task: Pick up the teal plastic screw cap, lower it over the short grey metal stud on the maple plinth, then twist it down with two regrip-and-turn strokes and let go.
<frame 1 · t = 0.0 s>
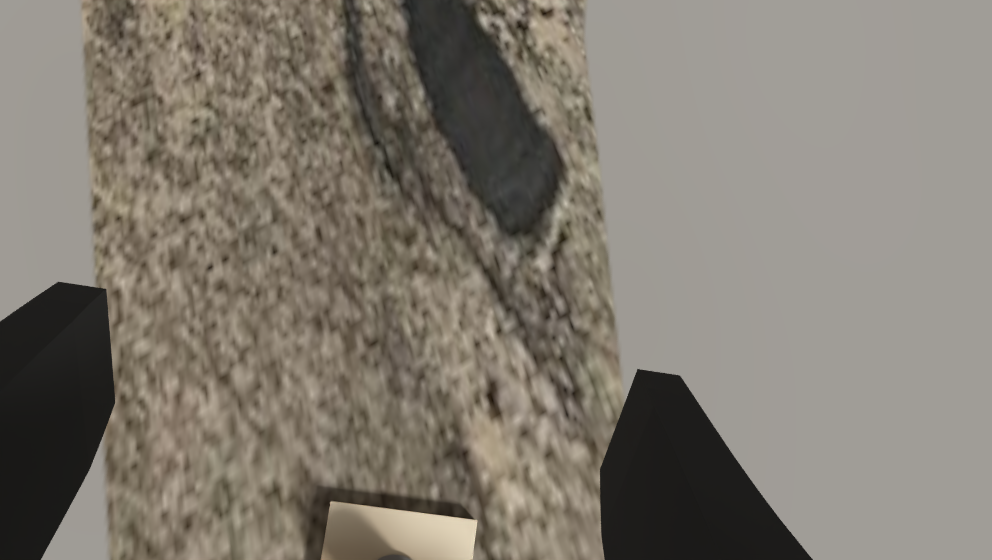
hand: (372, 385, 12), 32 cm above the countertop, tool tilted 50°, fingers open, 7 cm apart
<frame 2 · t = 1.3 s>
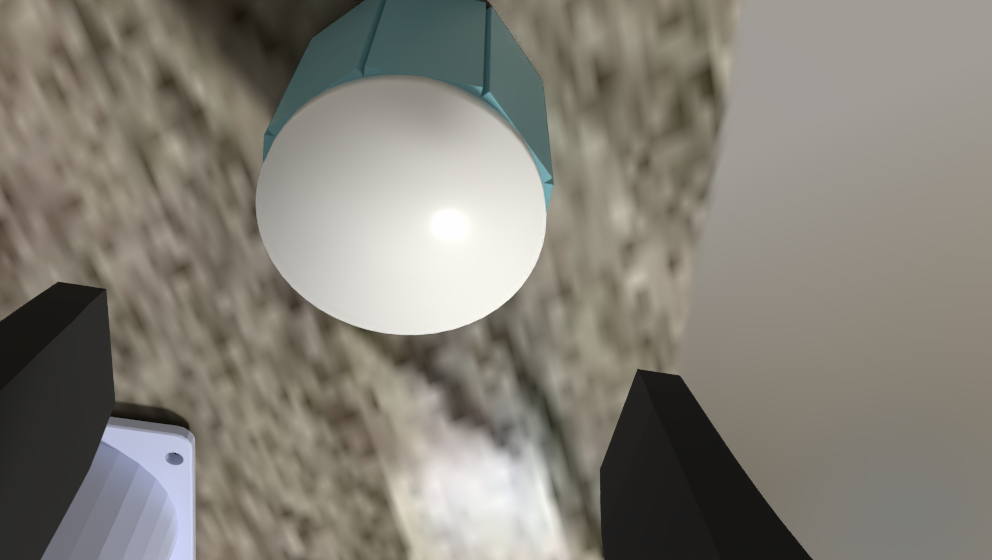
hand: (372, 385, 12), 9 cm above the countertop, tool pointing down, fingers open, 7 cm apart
cap: (421, 106, 20), on the countertop
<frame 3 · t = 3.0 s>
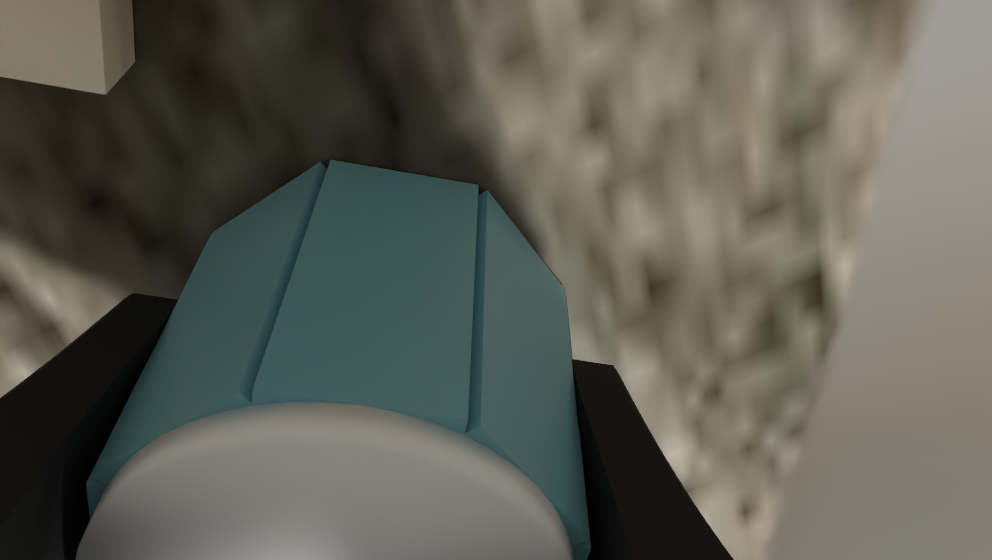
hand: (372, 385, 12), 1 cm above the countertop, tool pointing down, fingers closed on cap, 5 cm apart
cap: (382, 322, 13), on the countertop, touching gripper
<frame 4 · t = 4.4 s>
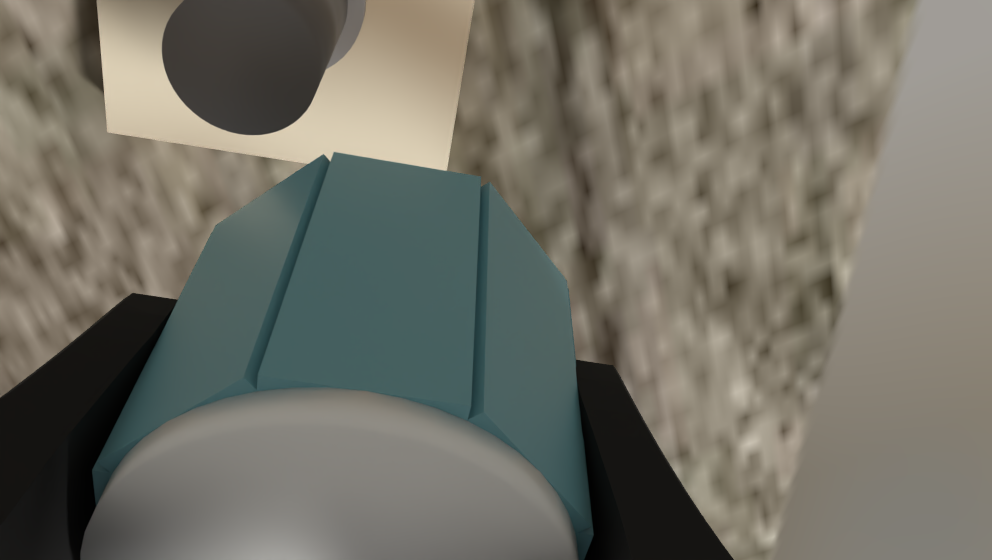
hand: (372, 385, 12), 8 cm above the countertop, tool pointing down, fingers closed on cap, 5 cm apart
cap: (385, 314, 13), point 7 cm above the countertop, touching gripper
when the fingers open (4 cm above the countertop, at t = 6.0 s): cap drops 1 cm, resting on stud.
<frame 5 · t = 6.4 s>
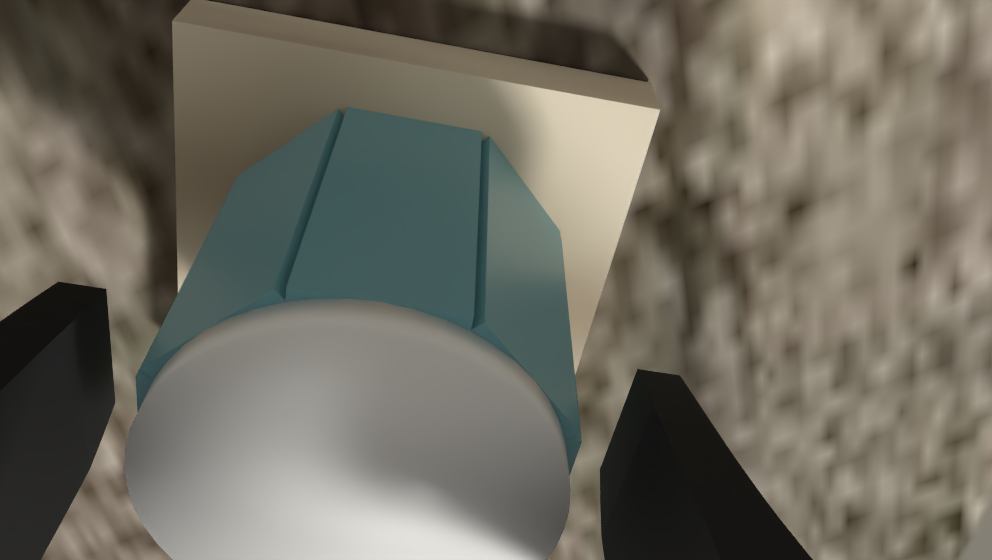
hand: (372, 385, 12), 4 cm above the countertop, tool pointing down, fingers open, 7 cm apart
stud: (399, 233, 15), on the countertop
cap: (392, 262, 15), point 1 cm above the countertop, touching stud
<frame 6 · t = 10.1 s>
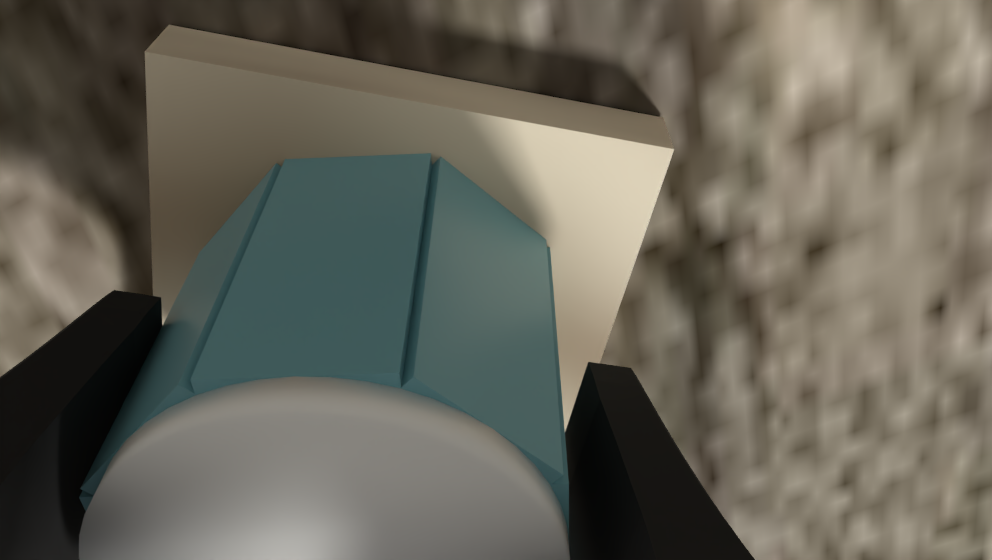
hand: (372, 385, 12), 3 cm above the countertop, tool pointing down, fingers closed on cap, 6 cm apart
stud: (391, 273, 14), on the countertop
cap: (381, 308, 14), point 1 cm above the countertop, touching gripper, stud
when the fingers open (3 cm above the countertop, at t = 11.9 s): cap stays where it is, resting on stud.
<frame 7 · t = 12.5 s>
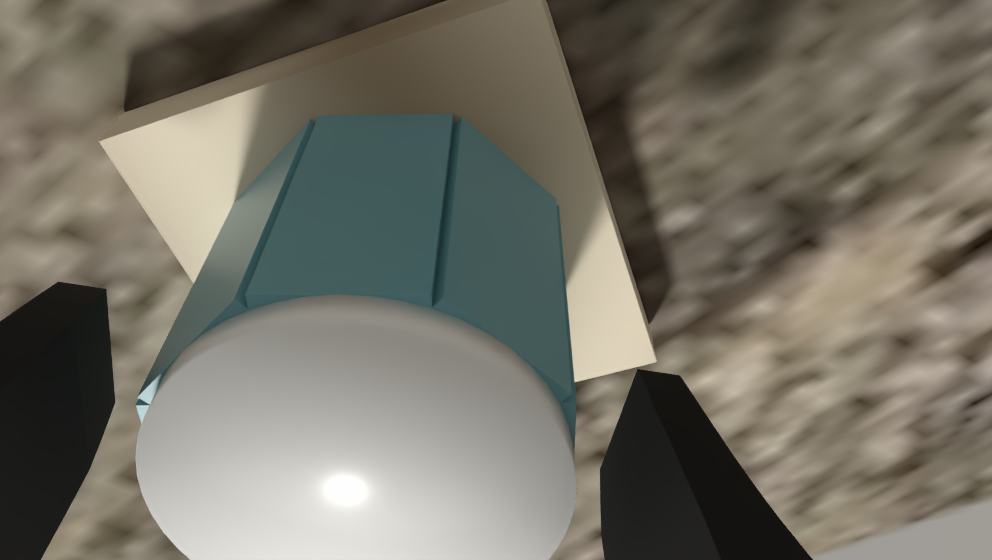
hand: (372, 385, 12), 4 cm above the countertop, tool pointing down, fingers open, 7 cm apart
stud: (406, 228, 15), on the countertop
cap: (400, 259, 15), point 1 cm above the countertop, touching stud
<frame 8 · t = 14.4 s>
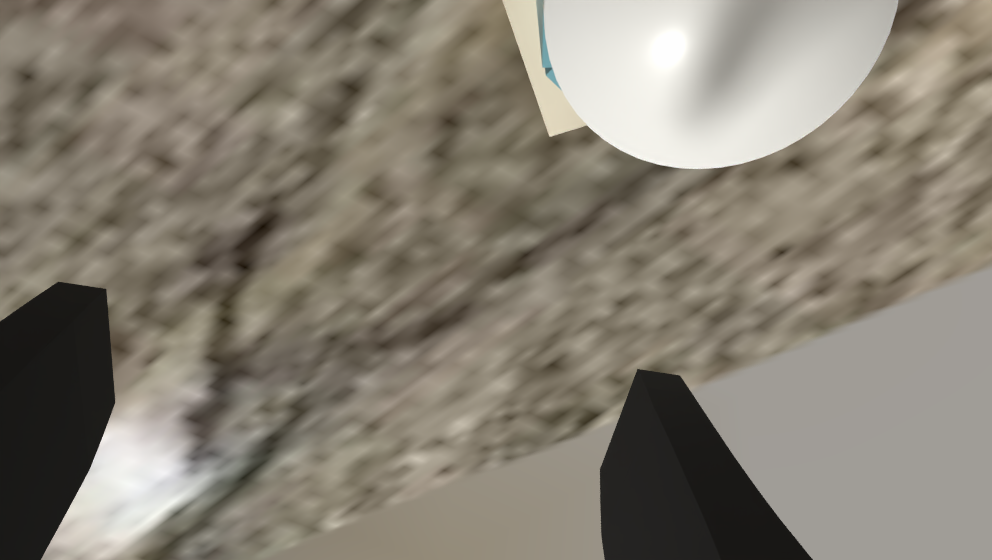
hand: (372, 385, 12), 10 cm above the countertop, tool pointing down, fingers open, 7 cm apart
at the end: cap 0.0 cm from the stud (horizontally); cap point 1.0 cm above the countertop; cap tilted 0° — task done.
